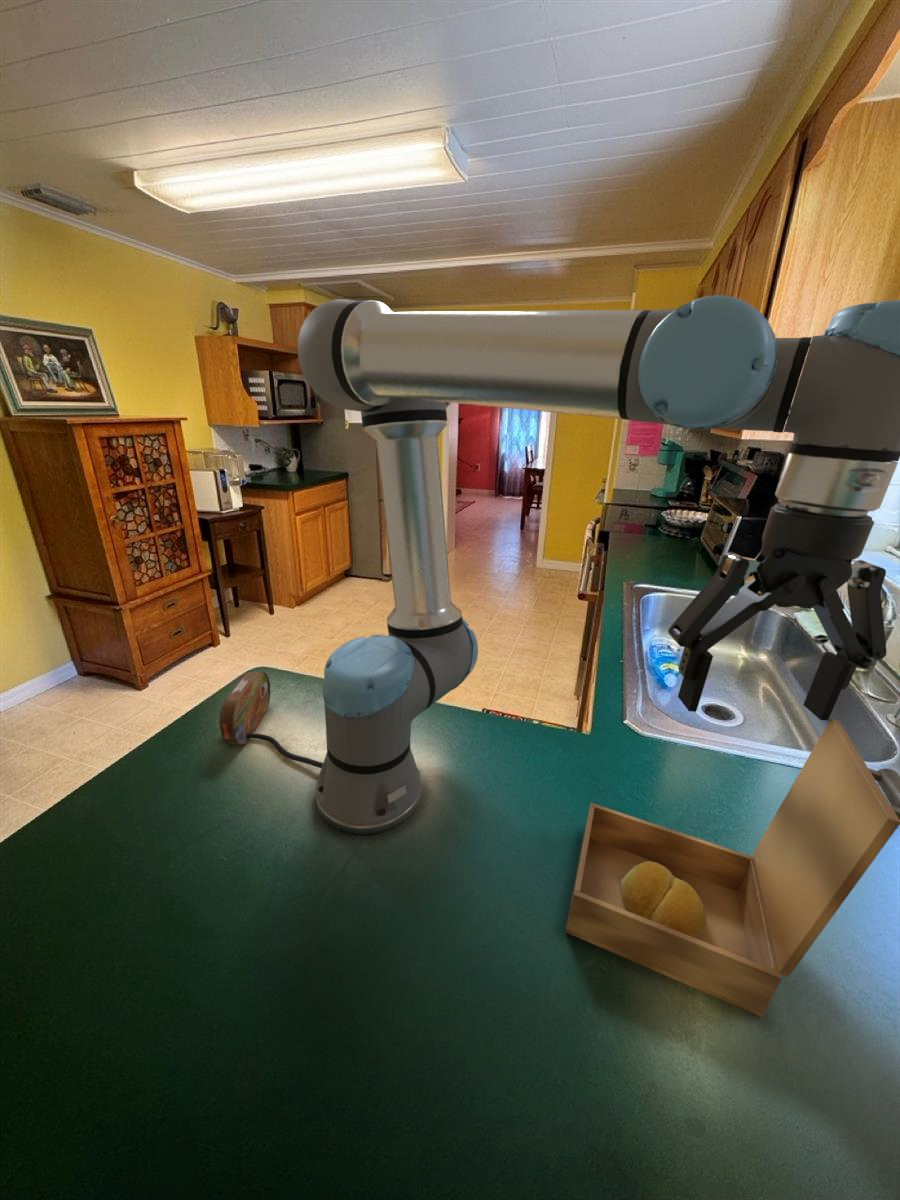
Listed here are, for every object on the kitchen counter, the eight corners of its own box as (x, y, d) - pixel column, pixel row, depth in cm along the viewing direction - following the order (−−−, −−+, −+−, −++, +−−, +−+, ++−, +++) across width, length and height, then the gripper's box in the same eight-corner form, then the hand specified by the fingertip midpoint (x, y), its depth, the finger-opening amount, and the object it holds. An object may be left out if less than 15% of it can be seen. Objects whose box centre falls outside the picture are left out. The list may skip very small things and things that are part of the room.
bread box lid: (889, 818, 36) (975, 848, 34) (830, 717, 48) (891, 736, 46) (778, 973, 44) (844, 1003, 42) (752, 853, 56) (802, 872, 54)
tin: (239, 755, 75) (233, 711, 72) (219, 754, 75) (213, 710, 72) (273, 701, 89) (269, 663, 86) (256, 700, 89) (252, 662, 86)
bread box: (565, 932, 52) (573, 894, 50) (583, 836, 65) (590, 802, 62) (762, 1017, 46) (782, 978, 44) (740, 892, 58) (755, 857, 56)
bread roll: (683, 965, 49) (693, 940, 48) (608, 900, 56) (614, 876, 54) (715, 916, 55) (725, 892, 53) (643, 862, 61) (650, 839, 59)
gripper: (702, 506, 38) (646, 722, 46) (1008, 526, 38) (899, 739, 46) (665, 491, 45) (622, 681, 53) (924, 508, 45) (842, 696, 53)
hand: (750, 708), depth 50 cm, fingers open, 13 cm apart
